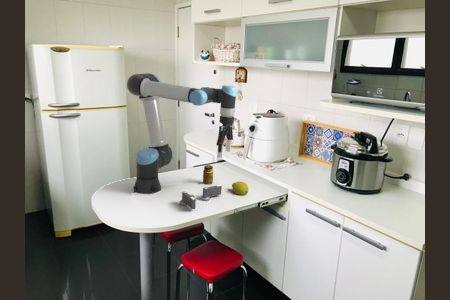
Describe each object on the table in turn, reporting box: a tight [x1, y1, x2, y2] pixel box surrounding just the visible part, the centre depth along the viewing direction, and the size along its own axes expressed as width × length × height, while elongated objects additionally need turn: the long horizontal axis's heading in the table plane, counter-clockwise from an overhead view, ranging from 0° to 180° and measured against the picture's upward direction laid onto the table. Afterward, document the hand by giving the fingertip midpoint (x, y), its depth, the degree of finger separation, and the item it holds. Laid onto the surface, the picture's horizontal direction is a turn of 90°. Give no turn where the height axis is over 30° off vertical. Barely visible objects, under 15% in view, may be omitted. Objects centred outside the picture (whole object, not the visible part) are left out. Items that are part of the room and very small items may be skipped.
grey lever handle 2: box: [200, 184, 223, 202], centre depth 175 cm, size 12×5×6 cm, turn 124°
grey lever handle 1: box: [179, 190, 197, 210], centre depth 163 cm, size 12×5×6 cm, turn 34°
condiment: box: [197, 164, 214, 186], centre depth 195 cm, size 7×8×12 cm
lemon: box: [231, 180, 249, 196], centre depth 184 cm, size 11×8×8 cm
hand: (223, 154), depth 175 cm, fingers open, 13 cm apart
